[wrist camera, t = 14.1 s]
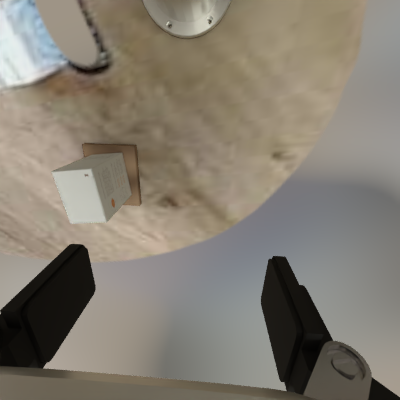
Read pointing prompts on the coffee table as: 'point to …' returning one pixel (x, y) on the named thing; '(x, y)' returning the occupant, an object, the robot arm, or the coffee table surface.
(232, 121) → the coffee table surface
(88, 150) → the walnut coaster board
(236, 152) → the coffee table surface
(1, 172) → the coffee table surface
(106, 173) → the small box
